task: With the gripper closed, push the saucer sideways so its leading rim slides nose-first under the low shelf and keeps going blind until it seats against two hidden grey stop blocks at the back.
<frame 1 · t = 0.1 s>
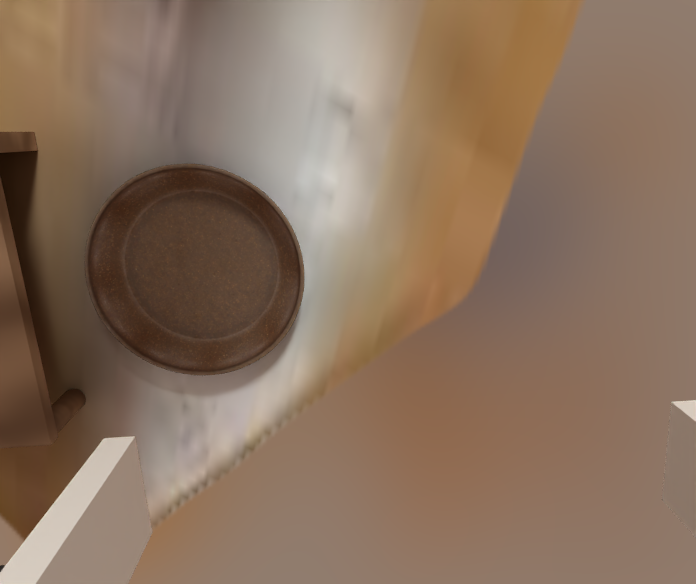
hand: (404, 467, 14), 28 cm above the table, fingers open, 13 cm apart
saucer: (204, 266, 41), on the table
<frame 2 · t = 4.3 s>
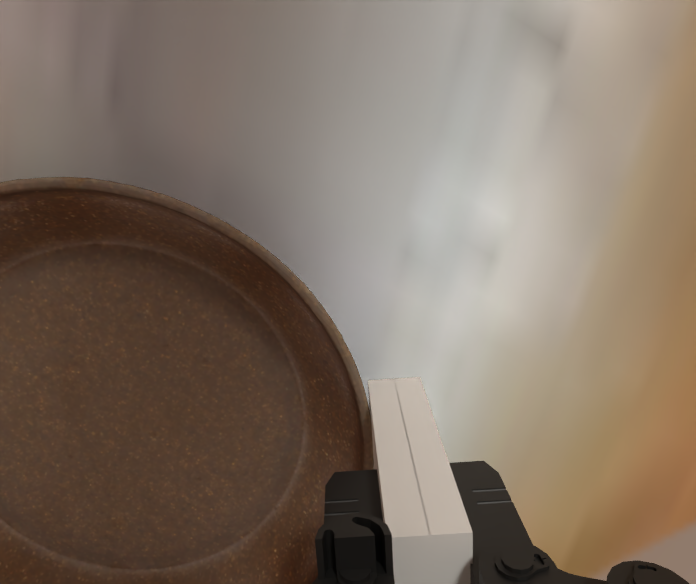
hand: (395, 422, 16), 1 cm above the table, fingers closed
saucer: (132, 411, 18), on the table
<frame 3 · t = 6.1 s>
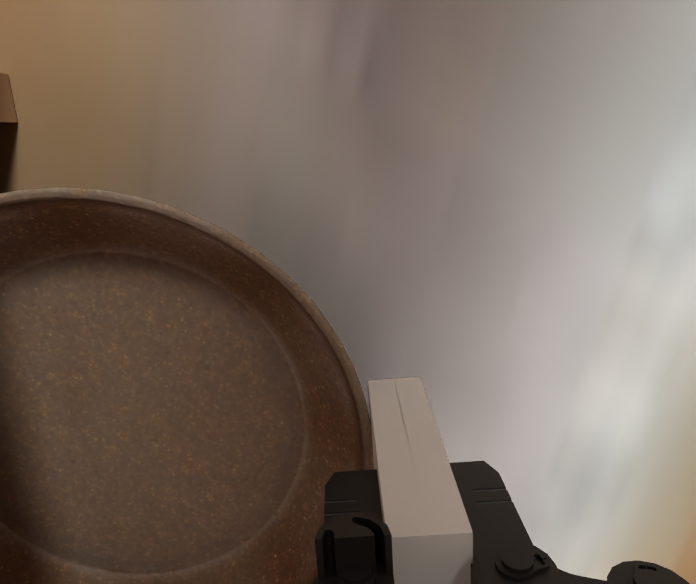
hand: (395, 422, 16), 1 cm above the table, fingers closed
saucer: (134, 417, 18), on the table
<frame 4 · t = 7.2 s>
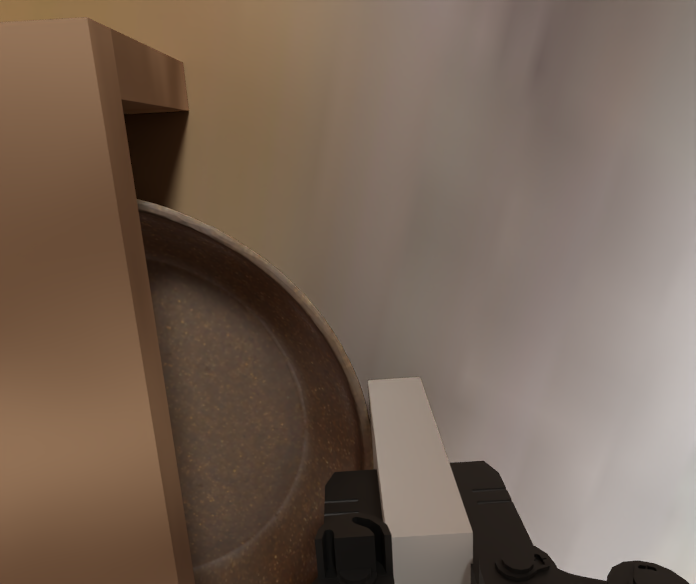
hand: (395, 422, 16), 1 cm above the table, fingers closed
saucer: (134, 418, 18), on the table
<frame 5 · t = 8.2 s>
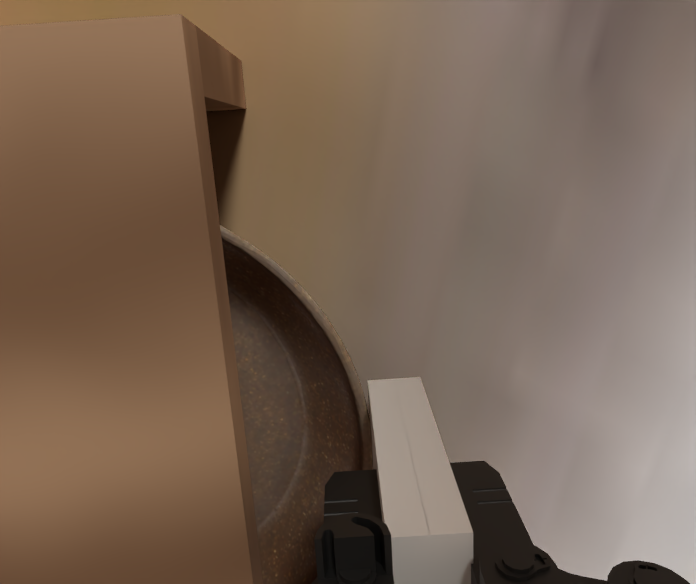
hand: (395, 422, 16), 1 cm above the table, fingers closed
overhang shelf: (50, 421, 18), on the table
saucer: (135, 413, 18), on the table
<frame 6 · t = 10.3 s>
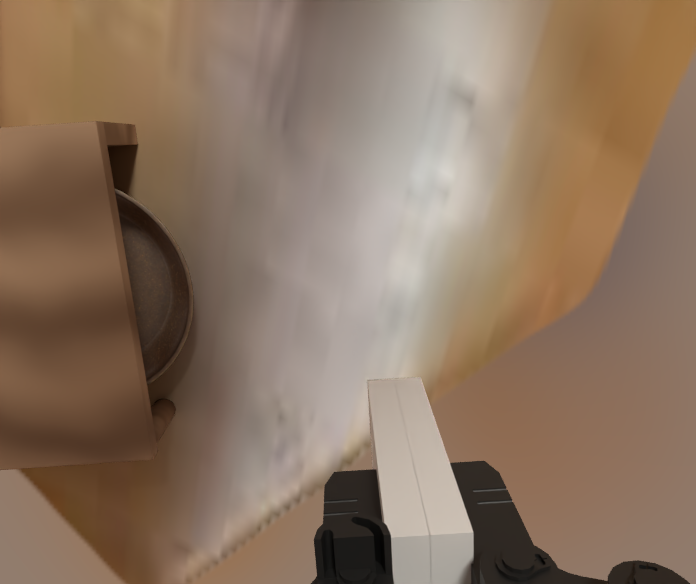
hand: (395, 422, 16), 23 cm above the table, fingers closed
overhang shelf: (54, 286, 38), on the table
saucer: (93, 284, 39), on the table
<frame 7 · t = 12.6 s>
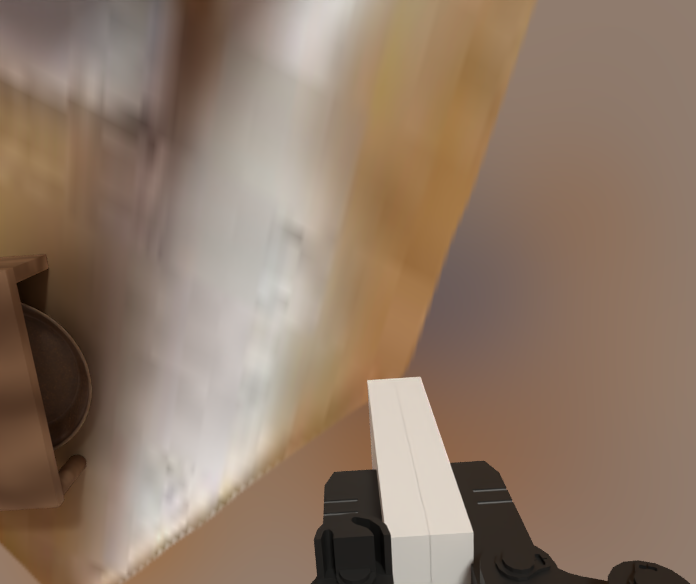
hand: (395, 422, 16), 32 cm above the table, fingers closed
saucer: (19, 368, 51), on the table
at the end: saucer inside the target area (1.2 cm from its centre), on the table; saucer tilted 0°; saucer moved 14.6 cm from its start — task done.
